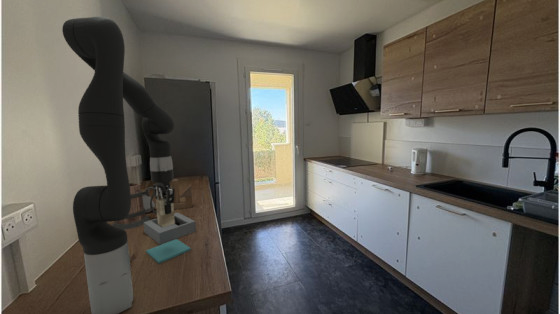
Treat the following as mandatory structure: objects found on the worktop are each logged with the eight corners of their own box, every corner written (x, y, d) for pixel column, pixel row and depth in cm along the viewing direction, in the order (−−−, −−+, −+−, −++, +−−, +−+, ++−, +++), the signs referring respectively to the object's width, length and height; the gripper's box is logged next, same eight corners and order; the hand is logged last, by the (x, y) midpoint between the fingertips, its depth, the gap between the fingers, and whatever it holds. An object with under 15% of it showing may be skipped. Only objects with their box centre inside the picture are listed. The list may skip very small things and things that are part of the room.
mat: (190, 249, 90) (190, 248, 90) (158, 263, 81) (158, 261, 81) (176, 240, 98) (176, 238, 98) (146, 252, 89) (146, 250, 89)
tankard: (107, 232, 107) (103, 191, 104) (114, 220, 122) (110, 183, 119) (163, 222, 117) (160, 184, 115) (163, 212, 132) (160, 178, 130)
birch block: (174, 223, 88) (172, 198, 87) (162, 227, 85) (160, 201, 84) (169, 220, 91) (167, 196, 90) (157, 224, 88) (155, 199, 86)
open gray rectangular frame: (195, 231, 106) (195, 221, 106) (160, 244, 94) (159, 233, 94) (178, 221, 118) (177, 212, 118) (144, 232, 106) (143, 222, 106)
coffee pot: (154, 213, 131) (151, 188, 129) (131, 216, 127) (128, 190, 125) (159, 202, 151) (158, 180, 149) (140, 204, 147) (137, 182, 145)
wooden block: (192, 207, 140) (190, 178, 138) (173, 210, 136) (171, 180, 134) (192, 205, 143) (190, 177, 141) (173, 208, 139) (171, 179, 137)
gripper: (143, 168, 87) (147, 210, 89) (159, 172, 78) (163, 219, 80) (164, 165, 93) (167, 205, 95) (180, 169, 83) (183, 213, 86)
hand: (165, 212), depth 87 cm, fingers closed on birch block, 4 cm apart
